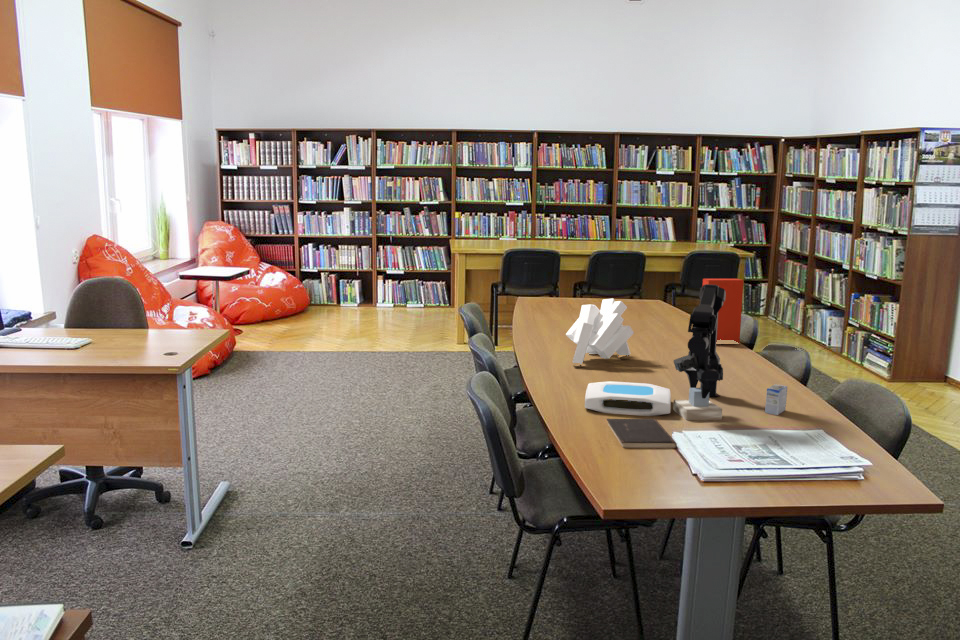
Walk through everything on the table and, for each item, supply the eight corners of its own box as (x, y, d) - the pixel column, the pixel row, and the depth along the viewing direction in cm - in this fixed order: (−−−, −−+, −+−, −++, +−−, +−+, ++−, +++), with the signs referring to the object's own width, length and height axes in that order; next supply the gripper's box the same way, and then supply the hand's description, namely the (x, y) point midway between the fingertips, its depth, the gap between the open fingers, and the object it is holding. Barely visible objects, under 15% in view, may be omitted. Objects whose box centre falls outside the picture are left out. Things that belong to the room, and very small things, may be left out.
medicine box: (772, 408, 261) (774, 383, 260) (785, 410, 258) (787, 386, 257) (764, 413, 255) (766, 388, 254) (778, 415, 252) (780, 390, 251)
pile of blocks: (620, 385, 313) (656, 308, 315) (554, 353, 317) (590, 278, 319) (614, 387, 347) (646, 319, 349) (555, 359, 352) (587, 291, 354)
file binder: (699, 342, 379) (702, 278, 374) (732, 341, 380) (736, 278, 375) (705, 345, 371) (709, 280, 366) (739, 345, 372) (743, 280, 367)
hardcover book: (621, 449, 219) (621, 441, 218) (606, 425, 241) (606, 418, 241) (676, 449, 219) (676, 441, 219) (656, 425, 242) (656, 418, 241)
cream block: (672, 411, 258) (673, 399, 257) (706, 410, 259) (707, 399, 259) (686, 421, 246) (686, 409, 245) (721, 421, 247) (722, 409, 247)
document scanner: (670, 418, 249) (671, 399, 248) (584, 412, 255) (584, 394, 254) (668, 401, 269) (669, 384, 268) (589, 396, 275) (589, 379, 274)
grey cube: (688, 402, 254) (689, 387, 254) (703, 402, 255) (704, 387, 254) (693, 406, 249) (694, 391, 249) (708, 406, 250) (709, 391, 249)
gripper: (667, 343, 257) (664, 388, 260) (688, 354, 239) (685, 402, 241) (698, 342, 258) (696, 387, 261) (721, 354, 240) (718, 402, 243)
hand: (698, 394), depth 251 cm, fingers open, 9 cm apart
